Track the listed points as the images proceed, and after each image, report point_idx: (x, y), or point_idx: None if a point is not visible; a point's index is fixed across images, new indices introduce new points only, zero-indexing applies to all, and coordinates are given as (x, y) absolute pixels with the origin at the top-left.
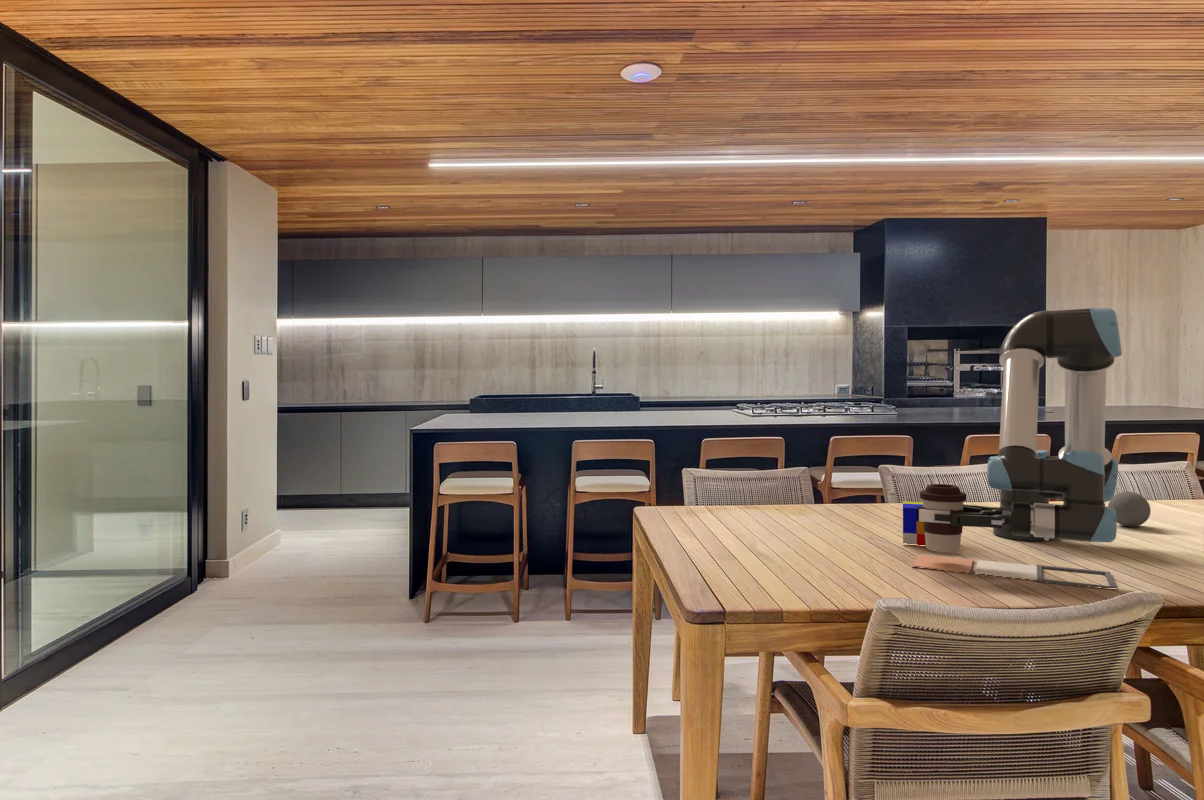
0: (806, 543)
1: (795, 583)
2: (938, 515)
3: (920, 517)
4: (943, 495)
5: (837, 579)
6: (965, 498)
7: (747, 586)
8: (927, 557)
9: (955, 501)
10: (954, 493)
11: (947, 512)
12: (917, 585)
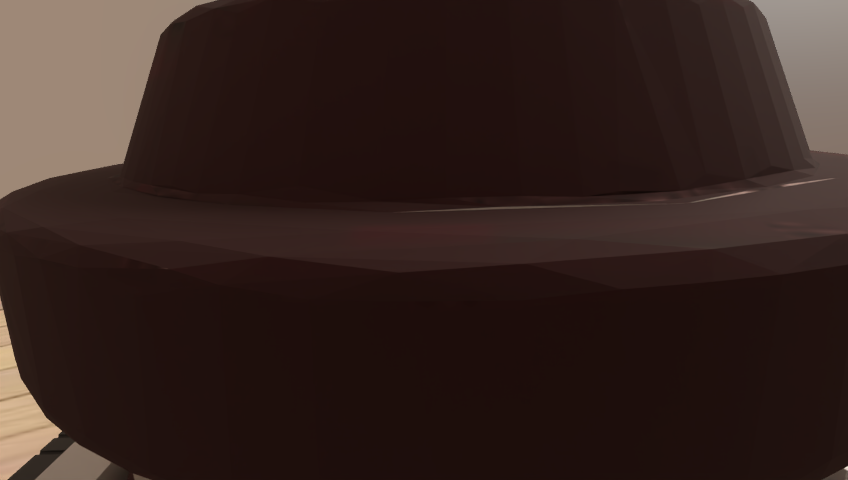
0: None
1: (9, 380)
2: (68, 436)
3: None
4: (87, 170)
5: (34, 440)
6: (301, 434)
7: (7, 334)
8: None
9: (13, 350)
10: (149, 151)
11: (56, 474)
12: None
